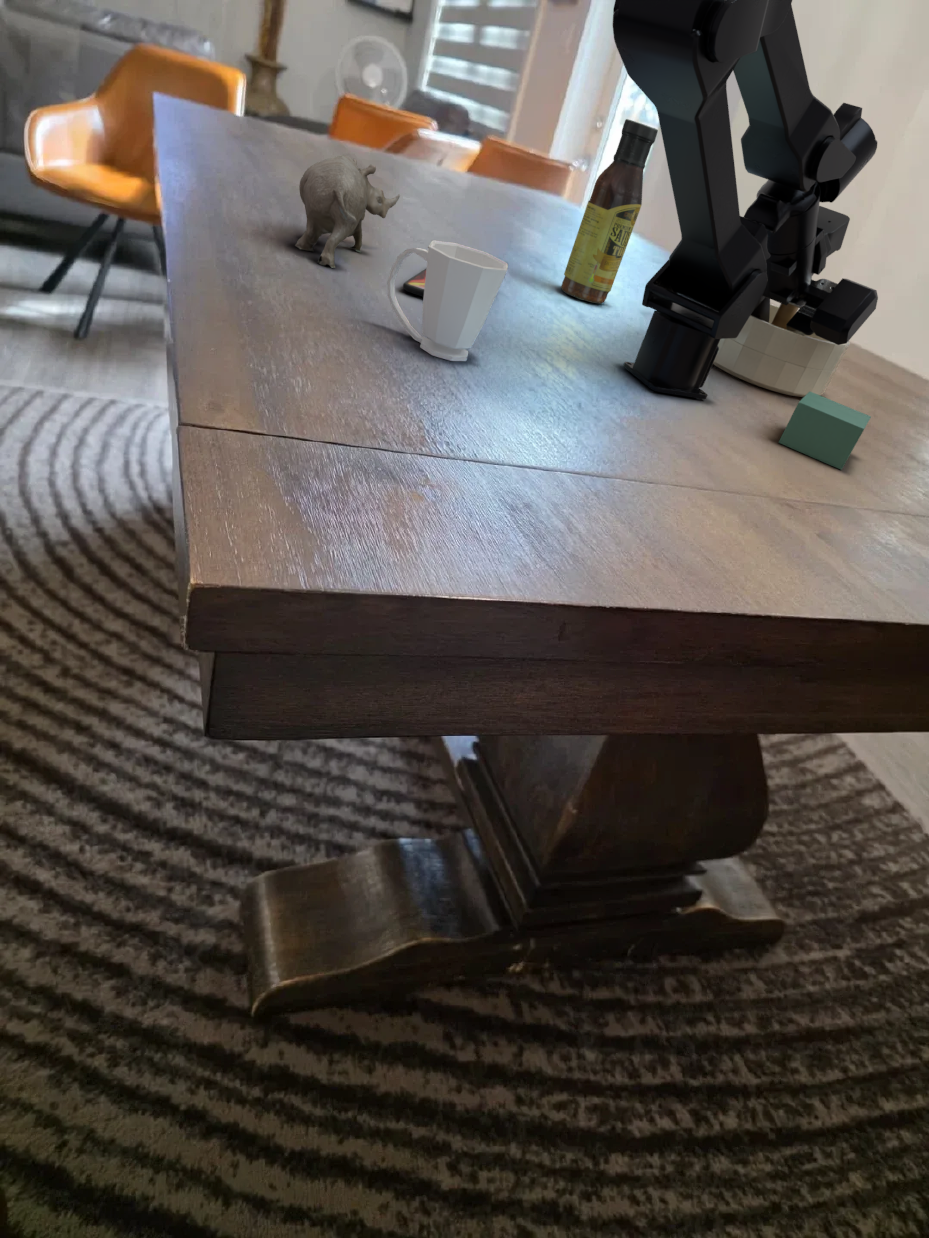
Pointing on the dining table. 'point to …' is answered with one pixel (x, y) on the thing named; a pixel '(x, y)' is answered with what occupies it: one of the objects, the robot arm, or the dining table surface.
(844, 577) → the dining table surface
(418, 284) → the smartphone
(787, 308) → the wooden peg
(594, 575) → the dining table surface
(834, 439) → the stand
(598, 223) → the sauce bottle
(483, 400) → the dining table surface
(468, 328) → the cup
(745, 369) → the bowl
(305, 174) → the rhinoceros figurine
